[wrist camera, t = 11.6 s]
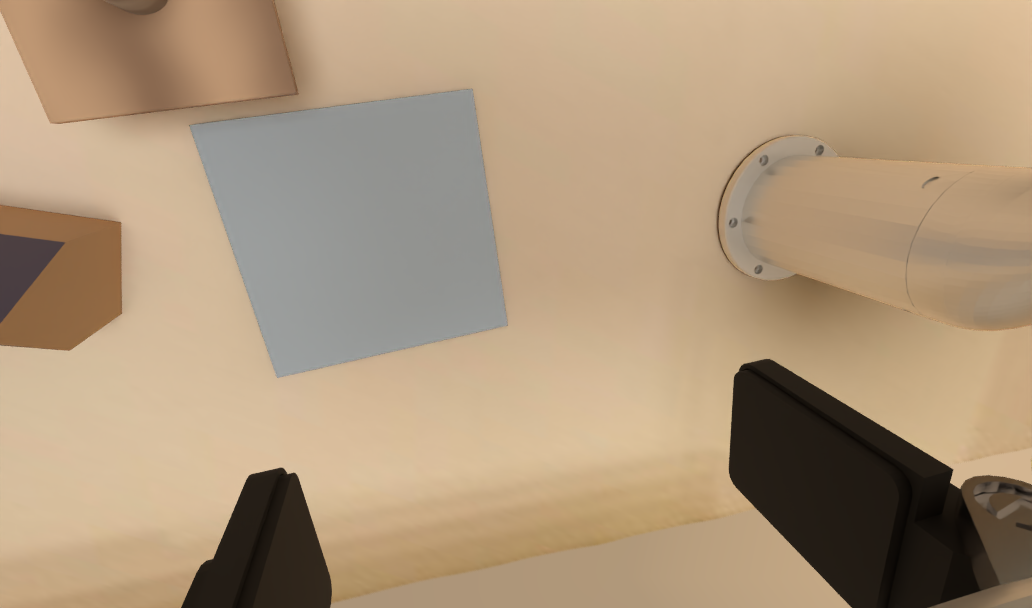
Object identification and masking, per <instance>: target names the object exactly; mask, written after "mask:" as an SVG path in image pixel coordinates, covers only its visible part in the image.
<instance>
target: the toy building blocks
mask: <svg viewBox="0 0 1032 608" xmlns="http://www.w3.org/2000/svg"><path fill="white" fill-rule="evenodd" d="M120 314H122V289H121V222H114V221H107V220H100V219H93V218H86V217H79V216H73V215H66V214H59V213H52V212H45V211H38V210H31V209H24V208H17V207H10V206H3V205H0V345H2V346H16V347H29V348H42V349H55V350H68V351H70V350H71V349H73V348H74V347H75V346H77V345H78V344H80V343H81V342H82V341H84V340H85V339H87V338H88V337H89V336H91V335H92V334H94V333H95V332H96V331H98V330H99V329H101V328H102V327H103V326H105V325H106V324H108V323H109V322H110V321H112V320H113V319H115V318H116V317H117V316H119V315H120Z"/></svg>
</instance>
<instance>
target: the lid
mask: <svg viewBox="0 0 1032 608" xmlns="http://www.w3.org/2000/svg"><path fill="white" fill-rule="evenodd" d="M0 11H1V13H2V16H3V18H4V20H5V22H6V25H7V27H8V29H9V31H10V34H11V36H12V38H13V40H14V43H15V45H16V47H17V49H18V52H19V54H20V56H21V58H22V61H23V63H24V65H25V67H26V70H27V72H28V74H29V76H30V79H31V81H32V83H33V85H34V88H35V90H36V92H37V94H38V97H39V99H40V101H41V103H42V106H43V108H44V110H45V112H46V114H47V117H48V119H49V121H50V123H56V124H61V123H69V122H78V121H86V120H94V119H102V118H110V117H118V116H126V115H134V114H142V113H151V112H159V111H167V110H175V109H183V108H191V107H199V106H207V105H216V104H224V103H232V102H240V101H248V100H256V99H264V98H272V97H280V96H289V95H297V94H299V93H298V90H297V86H296V82H295V78H294V75H293V71H292V67H291V63H290V60H289V56H288V52H287V49H286V45H285V41H284V37H283V34H282V30H281V26H280V22H279V19H278V15H277V11H276V7H275V4H274V0H0Z"/></svg>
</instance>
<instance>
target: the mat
mask: <svg viewBox="0 0 1032 608" xmlns="http://www.w3.org/2000/svg"><path fill="white" fill-rule="evenodd" d="M189 126H190V129H191V132H192V135H193V138H194V141H195V143H196V146H197V149H198V152H199V155H200V158H201V161H202V164H203V166H204V169H205V172H206V175H207V178H208V181H209V184H210V186H211V189H212V192H213V195H214V198H215V201H216V204H217V207H218V209H219V212H220V215H221V218H222V221H223V224H224V227H225V230H226V232H227V235H228V238H229V241H230V244H231V247H232V250H233V252H234V255H235V258H236V261H237V264H238V267H239V270H240V273H241V275H242V278H243V281H244V284H245V287H246V290H247V293H248V296H249V298H250V301H251V304H252V307H253V310H254V313H255V316H256V318H257V321H258V324H259V327H260V330H261V333H262V336H263V339H264V341H265V344H266V347H267V350H268V353H269V356H270V359H271V362H272V364H273V367H274V370H275V373H276V376H277V378H279V377H283V376H288V375H292V374H297V373H301V372H305V371H310V370H314V369H319V368H323V367H327V366H332V365H336V364H341V363H345V362H349V361H354V360H358V359H362V358H367V357H371V356H376V355H380V354H384V353H389V352H393V351H398V350H402V349H406V348H411V347H415V346H420V345H424V344H428V343H433V342H437V341H442V340H446V339H450V338H455V337H459V336H464V335H468V334H472V333H477V332H481V331H486V330H490V329H494V328H499V327H503V326H508V324H507V318H506V311H505V304H504V297H503V291H502V284H501V277H500V271H499V264H498V257H497V251H496V244H495V237H494V230H493V224H492V217H491V210H490V204H489V197H488V190H487V184H486V177H485V170H484V163H483V157H482V150H481V143H480V137H479V130H478V123H477V117H476V110H475V103H474V96H473V90H472V89H467V90H459V91H451V92H443V93H436V94H428V95H420V96H412V97H404V98H397V99H389V100H381V101H373V102H366V103H358V104H350V105H342V106H334V107H327V108H319V109H311V110H303V111H295V112H288V113H280V114H272V115H264V116H257V117H249V118H241V119H233V120H225V121H218V122H210V123H202V124H194V125H189Z"/></svg>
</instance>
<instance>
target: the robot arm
mask: <svg viewBox="0 0 1032 608" xmlns="http://www.w3.org/2000/svg"><path fill="white" fill-rule="evenodd" d="M719 235H720V241H721V244H722V247H723V250H724V252H725V254H726V256H727V258H728V259H729V261H730V262H731V263H732V264H733V265H734V266H735V267H736V268H737V269H738V270H740V271H741V272H743V273H744V274H746V275H749V276H751V277H754V278H757V279H761V280H766V281H768V280H781V279H785V278H789V277H791V276H793V275H796V274H799V275H802V276H805V277H808V278H811V279H814V280H817V281H820V282H823V283H826V284H829V285H832V286H835V287H838V288H841V289H844V290H847V291H849V292H852V293H855V294H858V295H861V296H864V297H867V298H870V299H873V300H876V301H879V302H882V303H885V304H888V305H891V306H894V307H897V308H899V309H902V310H905V311H908V312H912V313H914V314H917V315H920V316H923V317H926V318H929V319H932V320H935V321H938V322H941V323H944V324H948V325H951V326H955V327H958V328H963V329H970V330H979V331H998V330H1006V329H1014V328H1019V327H1024V326H1029V325H1032V168H1025V167H1007V166H988V165H970V164H952V163H935V162H917V161H899V160H882V159H864V158H846V157H839V156H838V155H837V154H836V152H835V151H834V150H833V149H832V148H831V147H830V146H829V145H828V144H827V143H825V142H823V141H821V140H819V139H817V138H815V137H810V136H803V135H791V136H785V137H779V138H777V139H774V140H772V141H769V142H767V143H765V144H764V145H762V146H761V147H759V148H757V149H756V150H755V151H754V152H752V153H751V154H750V155H749V156H748V157H747V158H746V159H745V160H744V161H743V162H742V164H741V165H740V166H739V167H738V169H737V170H736V171H735V173H734V175H733V176H732V178H731V180H730V182H729V183H728V185H727V188H726V190H725V193H724V196H723V198H722V203H721V207H720V212H719ZM1031 468H1032V459H1031ZM952 472H953V469H951V468H950V467H948V466H947V465H945V464H943V463H942V462H940V461H938V460H937V459H935V458H933V457H932V456H930V455H928V454H927V453H925V452H923V451H922V450H920V449H918V448H917V447H915V446H913V445H912V444H910V443H908V442H907V441H905V440H904V439H902V438H900V437H899V436H897V435H895V434H894V433H892V432H890V431H889V430H887V429H885V428H884V427H882V426H880V425H879V424H877V423H875V422H874V421H872V420H870V419H869V418H867V417H865V416H864V415H862V414H860V413H859V412H857V411H856V410H854V409H852V408H851V407H849V406H847V405H846V404H844V403H842V402H841V401H839V400H837V399H836V398H834V397H832V396H831V395H829V394H827V393H826V392H824V391H822V390H821V389H819V388H817V387H816V386H814V385H813V384H811V383H809V382H808V381H806V380H804V379H803V378H801V377H799V376H798V375H796V374H794V373H793V372H791V371H789V370H788V369H786V368H784V367H783V366H781V365H779V364H778V363H776V362H774V361H773V360H770V359H764V360H760V361H755V362H751V363H746V364H743V365H742V366H741V367H740V369H739V372H737V373H736V374H735V376H734V387H733V405H732V422H731V439H730V457H729V474H730V478H731V480H732V482H733V484H734V485H735V487H736V488H737V489H738V490H739V491H740V492H741V493H742V494H743V495H744V496H745V497H746V498H747V499H748V500H749V501H750V502H751V503H752V504H753V506H754V507H755V508H756V509H757V510H758V511H759V512H760V513H761V514H762V515H763V516H764V517H765V518H766V519H767V520H768V521H769V522H770V523H771V524H772V525H773V526H774V527H775V528H776V529H777V530H778V531H779V533H780V534H781V535H783V536H784V538H785V539H786V540H787V541H788V542H789V543H790V544H791V545H792V546H793V547H794V548H795V549H796V550H797V551H798V552H799V553H800V554H801V555H802V556H803V557H804V558H805V560H806V561H807V562H809V564H810V565H811V566H812V567H813V568H814V569H815V570H816V571H817V572H818V573H819V574H820V575H821V576H822V577H823V578H824V579H825V580H826V581H827V582H828V583H829V584H830V586H831V587H832V588H833V589H834V590H835V591H836V592H837V593H838V594H839V595H840V596H841V597H842V598H843V599H844V600H845V601H846V602H847V603H848V604H849V605H850V606H851V607H852V608H1032V485H1031V484H1029V483H1026V482H1023V481H1019V480H1015V479H1011V478H1006V477H999V476H990V475H986V476H975V477H972V478H970V479H967V480H965V482H964V483H963V485H962V486H961V489H959V488H957V487H956V486H954V485H953V484H951V483H950V480H951V476H952ZM331 596H332V587H331V579H330V575H329V572H328V569H327V565H326V562H325V559H324V556H323V553H322V550H321V547H320V544H319V541H318V538H317V534H316V531H315V528H314V525H313V522H312V519H311V516H310V513H309V510H308V506H307V503H306V500H305V497H304V494H303V491H302V488H301V485H300V482H299V479H298V476H297V475H296V473H291V474H287V472H286V471H285V469H284V468H278V469H273V470H269V471H264V472H260V473H255V474H251V475H249V476H248V478H247V480H246V482H245V485H244V487H243V489H242V492H241V494H240V496H239V499H238V501H237V504H236V506H235V508H234V511H233V513H232V515H231V518H230V520H229V523H228V525H227V527H226V530H225V532H224V535H223V537H222V539H221V542H220V544H219V546H218V549H217V551H216V554H215V556H214V558H213V559H212V560H208V561H206V562H205V563H203V564H202V565H201V566H200V568H199V570H198V572H197V573H196V575H195V578H194V580H193V582H192V584H191V587H190V589H189V591H188V593H187V596H186V598H185V600H184V602H183V605H182V607H181V608H330V605H331Z"/></svg>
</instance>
